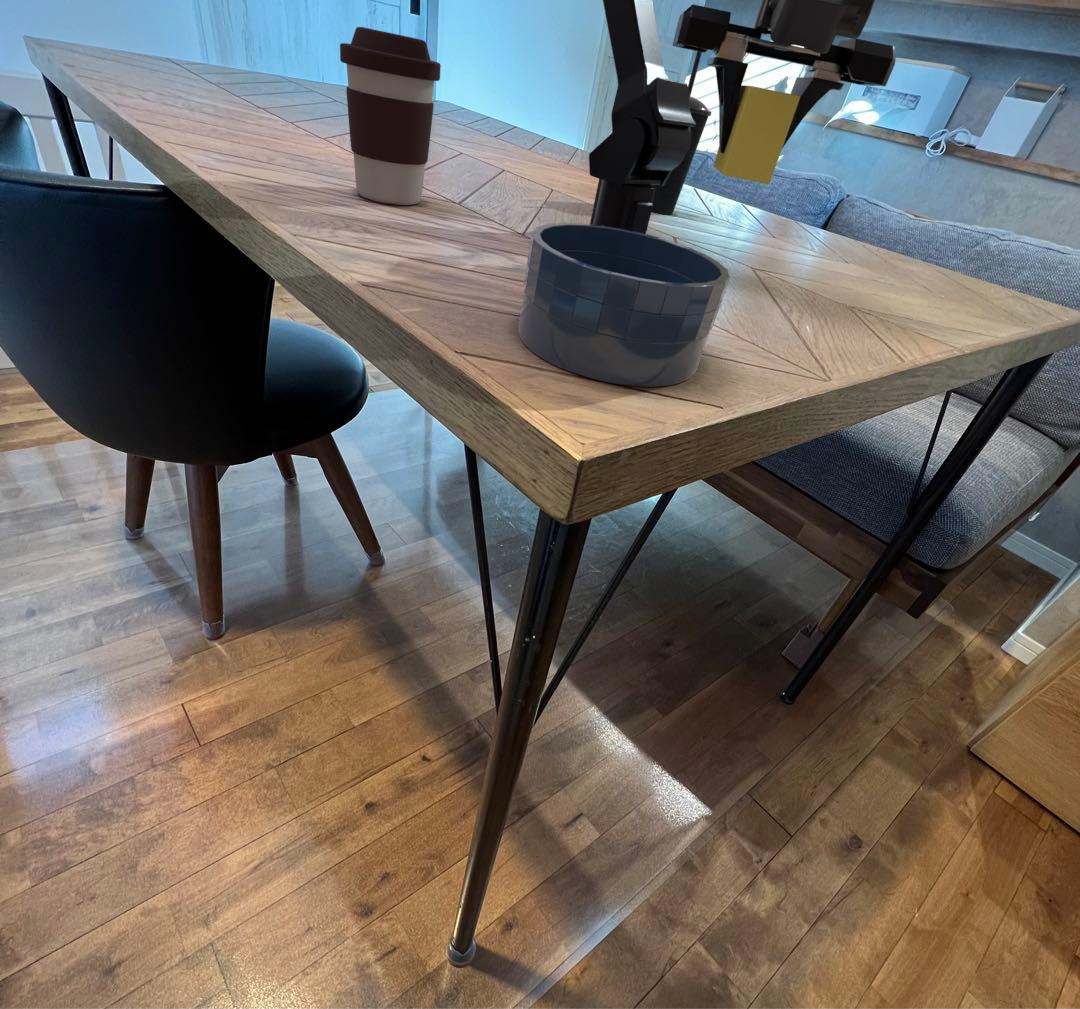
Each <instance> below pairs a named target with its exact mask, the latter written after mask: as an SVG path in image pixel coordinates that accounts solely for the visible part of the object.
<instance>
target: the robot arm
mask: <svg viewBox="0 0 1080 1009" xmlns="http://www.w3.org/2000/svg"><path fill="white" fill-rule="evenodd" d="M875 2H876V0H761V1H760V4H759V7H758V11H757V14H756V18H755V21H754V25H753V27H749V26H746V25H745V26H744V25H740V24H739V25H738V24H735V23H731V22H730V20H731V17H732V12H731V11H728V10H722V9H717V8H712V7H708V6H703V5H698V4H694V3H693V4H691V5H690V6H689V7H687V8H686V10H684V11H683V12H682V13H681V14H680V15H679V17H678V21H677V23H676V24H677V25H676V29H675V32H674V37H673V42H672V47H675V48H680V49H685V50H690V51H694V52H697V51H699V52H702V54H703V53H706V52H707V51H708V50H709V51H712V53H711V57H709V58H707V60H706V63H705V64H706V66H708V67H713V68H715V75H716V83H717V94H718V111H719V112H718V117H719V118H718V120H719V122H718V124H719V125H718V126H719V127H718V133H719V134H718V136H719V137H718V149H719V152H720V153H724V152H725V149H726V146H727V143H728V140H729V137H730V134H731V131H732V126H733V121H734V116H735V112H736V107H737V102H738V98H739V93H740V88H741V85H743V82H744V79H745V75H746V72H747V69H748V67H749V63H747V62H744V59H745V57H746V55H747V54H749V55H754V56H758V57H761V58H762V57H763V58H767V59H772V60H776V61H782V62H787V63H791V64H796V65H800V66H801V65H802V66H807V67H806V69H805V73H804V75H803V77H802V76H801V77H800V76H797V77H796V78H795V81H794V84H793V86H792V88H791V91H790V94H793V95H797V96H800V99H799V102H798V105H797V108H796V111H795V113H794V116H793V119H792V122H791V125H790V128H789V130H788V133H787V136H786V139H785V142H784V144H783V147H782V149H783V148H784V147H785V145H786V144H787V143H788V141H789V140H790V138H791V137H792V135H793V134H794V133H795V131H796V130H797V128H798V127H799V125H800V124H801V122H802V121H803V119H805V117H806V116H807V114H808V113H809V112H810V111H811V110H812V109H813V107H814V106H815V105H816V104H817V103H818V102H819V101H820V100H821V99H822V98H823V97H824V96H826V95H827V94H828V93H829V92H830V91H839V92H840V91H841V90H843V87H844V86H845V83H849V84H854V85H858V86H865V87H887V84H888V81H889V80H890V77H891V75H892V72H893V70H894V67H895V65H896V59H897V54H896V49H895V46H894V45H890V44H887V43H886V44H885V43H882V42H881V43H880V42H875V41H871V40H867V39H861V38H859V37H860V36H861V34H862V33H863V31H864V29H865V26H866V24H867V23H868V20H869V18H870V15H871V13H872V10H873V7H874V4H875ZM602 4H603V10H604V15H605V20H606V26H607V31H608V37H609V42H610V47H611V53H612V57H613V58H612V59H613V63H614V67H615V74H616V79H617V89H616V92H615V97H614V100H613V105H612V109H611V114H610V117H611V118H610V120H611V133H610V135H608V136H607V137H606V138H605V139H604V140H603V141H602V142H600V144H598V145H597V146H596V147H595V148H594V149H593V150H591V151H590V152H589V155H588V167H589V176H590V177H593V178H596V179H598V183H597V188H596V193H595V197H594V202H593V207H592V208H593V209H592V212H591V216H590V222H589V224H594V225H602V226H609V227H615V228H621V229H626V230H631V231H635V232H640V233H644V234H647V231H648V226H649V223H650V219H651V216H652V213H653V212H652V208H653V204H652V200H653V196H654V192H655V188H653V187H652V186H651V185H659V186H663V185H664V184H665V183H666V181H667V179H668V177H669V176H670V174H671V172H672V171H673V169H674V168H675V167H677V166H678V165H679V164H680V163H681V162H682V160H683V159H684V157H685V155H686V153H687V151H688V150H689V149H690V145H691V129H690V127H695V125H696V123H695V122H694V120H693V118H692V115H691V112H690V102H689V90H688V83H685V82H682V81H677V80H672V79H670V78H669V76H668V74H667V73H666V70H665V67H664V62H663V56H662V51H661V45H660V38H659V31H658V26H657V25H658V24H657V20H656V14H655V8H654V2H653V0H602ZM762 35H763V36H770V40H767V39H763V38H762ZM836 36H838V37H843V38H849V39H844V40H839V42H838V44H833V43H834V40H835V38H836ZM843 82H844V83H843Z"/></svg>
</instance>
